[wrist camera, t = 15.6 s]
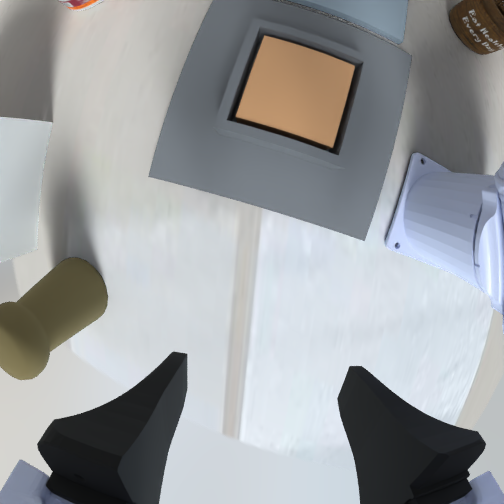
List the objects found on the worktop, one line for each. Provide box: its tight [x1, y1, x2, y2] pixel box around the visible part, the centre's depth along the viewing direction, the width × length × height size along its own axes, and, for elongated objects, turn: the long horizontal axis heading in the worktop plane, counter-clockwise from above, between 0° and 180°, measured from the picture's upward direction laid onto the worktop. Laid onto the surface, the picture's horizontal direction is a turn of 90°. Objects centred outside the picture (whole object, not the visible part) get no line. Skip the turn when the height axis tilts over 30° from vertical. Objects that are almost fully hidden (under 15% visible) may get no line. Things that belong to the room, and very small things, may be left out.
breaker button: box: [236, 35, 355, 150], centre depth 16 cm, size 6×6×2 cm
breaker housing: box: [148, 0, 412, 241], centre depth 16 cm, size 16×16×4 cm
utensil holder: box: [449, 0, 504, 55], centre depth 9 cm, size 6×6×12 cm
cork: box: [0, 258, 108, 380], centre depth 16 cm, size 6×6×11 cm
